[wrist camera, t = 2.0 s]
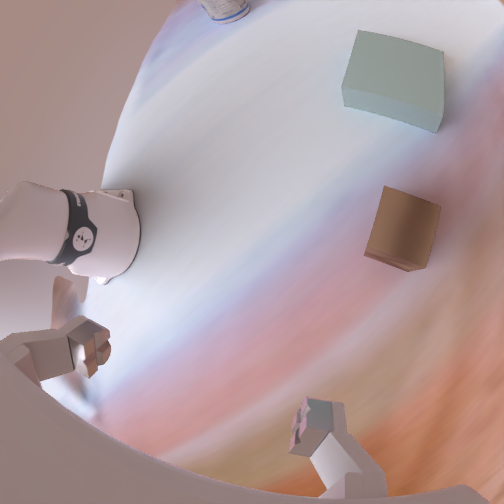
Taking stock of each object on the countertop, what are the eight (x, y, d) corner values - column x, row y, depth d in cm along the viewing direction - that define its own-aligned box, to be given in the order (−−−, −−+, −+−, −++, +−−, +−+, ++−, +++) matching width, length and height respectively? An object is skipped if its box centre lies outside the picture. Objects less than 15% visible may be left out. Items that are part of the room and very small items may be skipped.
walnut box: (363, 255, 31) (366, 246, 23) (377, 209, 31) (384, 185, 23) (407, 271, 29) (425, 268, 21) (421, 225, 29) (440, 206, 21)
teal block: (344, 107, 34) (341, 86, 30) (360, 50, 34) (358, 30, 29) (435, 134, 29) (443, 116, 24) (439, 71, 28) (443, 52, 24)
